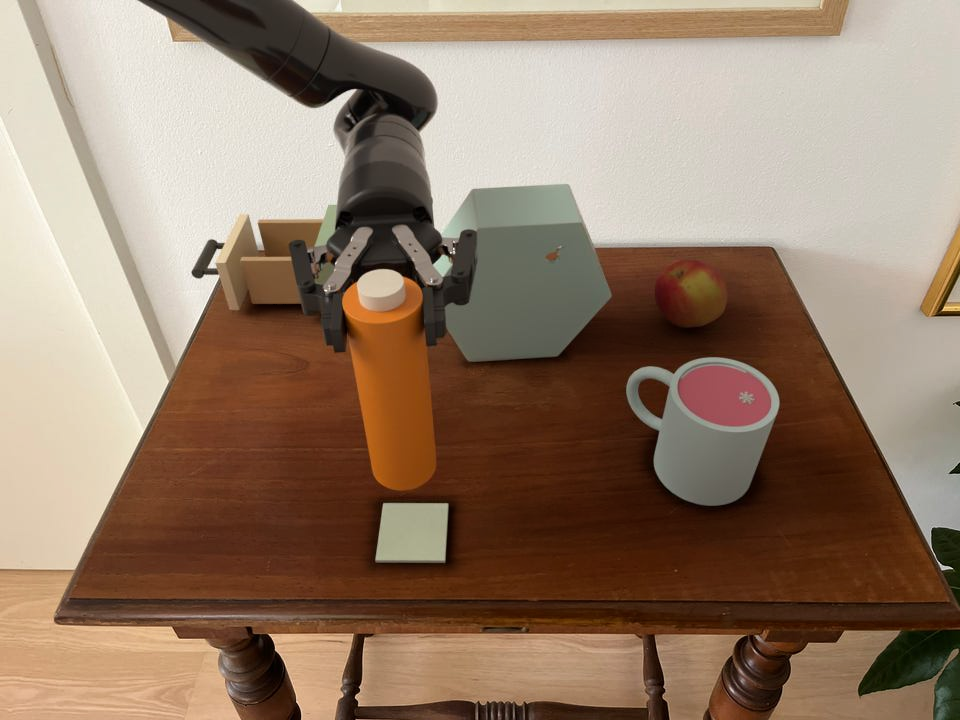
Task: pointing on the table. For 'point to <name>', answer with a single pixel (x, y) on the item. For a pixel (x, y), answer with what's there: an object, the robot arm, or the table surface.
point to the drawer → (258, 260)
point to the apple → (690, 293)
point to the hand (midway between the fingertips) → (384, 338)
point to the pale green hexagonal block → (524, 273)
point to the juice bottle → (392, 376)
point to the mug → (709, 427)
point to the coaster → (413, 533)
